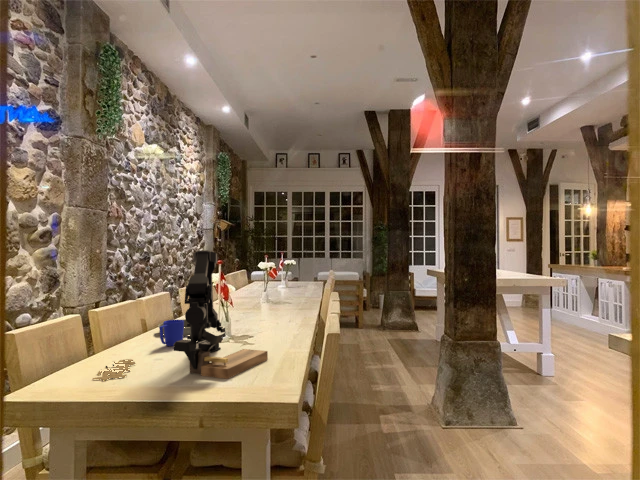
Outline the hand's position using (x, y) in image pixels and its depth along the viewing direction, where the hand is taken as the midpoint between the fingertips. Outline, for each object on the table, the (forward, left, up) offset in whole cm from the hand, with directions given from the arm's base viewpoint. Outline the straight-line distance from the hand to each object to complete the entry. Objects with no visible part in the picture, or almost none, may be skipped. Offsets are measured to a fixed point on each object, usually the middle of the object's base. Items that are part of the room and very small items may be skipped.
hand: (199, 367), depth 151 cm
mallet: (+4, 0, -2) cm, 4 cm away
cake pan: (-51, +55, -2) cm, 75 cm away
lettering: (-28, -8, -2) cm, 29 cm away
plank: (+8, +9, -2) cm, 12 cm away
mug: (-36, +28, -2) cm, 45 cm away
